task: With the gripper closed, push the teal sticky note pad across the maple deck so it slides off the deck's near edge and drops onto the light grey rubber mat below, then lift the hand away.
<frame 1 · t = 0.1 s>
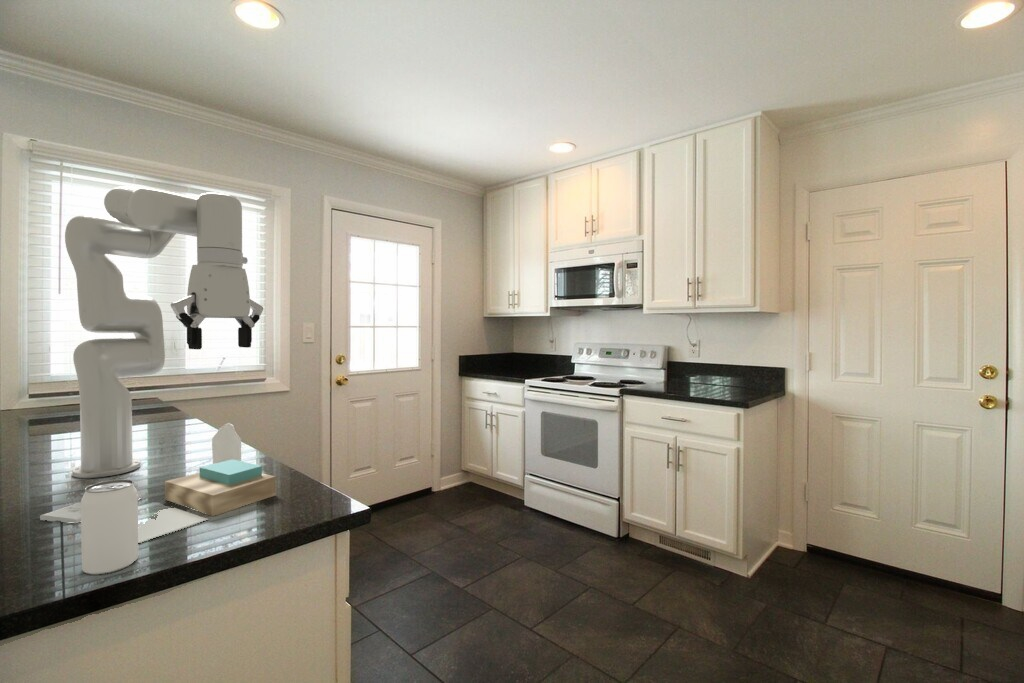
hand: (220, 348, 95), 31 cm above the counter, tool pointing down, fingers open, 9 cm apart
deck: (221, 498, 100), on the counter
can: (110, 566, 72), on the counter
teal sticky note pad: (230, 476, 102), point 4 cm above the counter, touching deck
external hard drive: (93, 513, 93), on the counter
roll: (227, 474, 116), on the counter
mat: (147, 521, 88), on the counter
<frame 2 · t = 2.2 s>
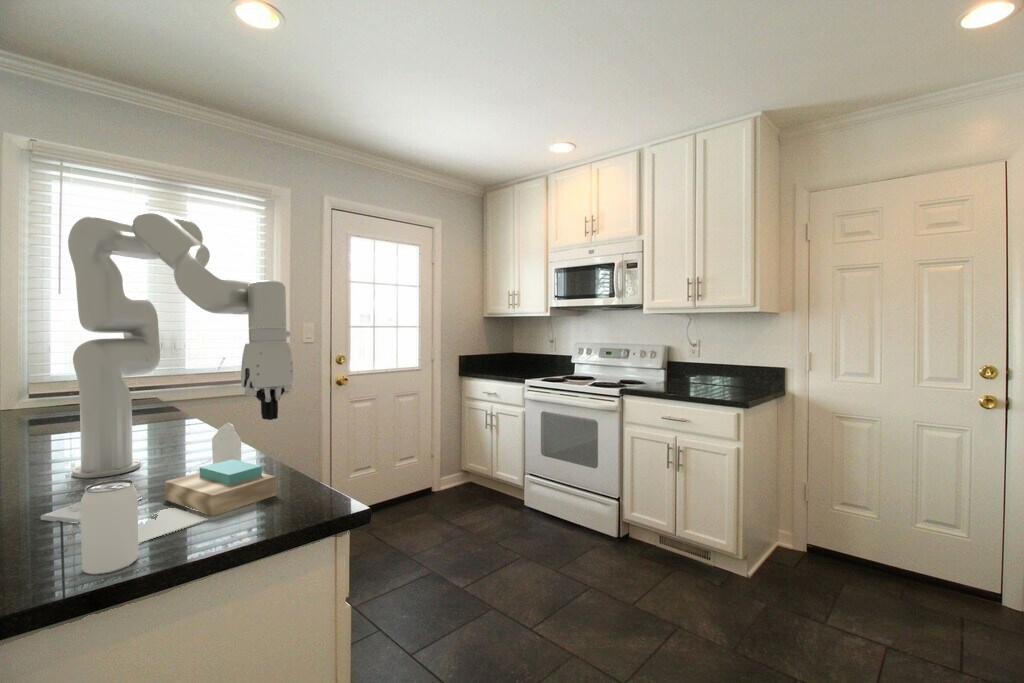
hand: (269, 418, 109), 15 cm above the counter, tool pointing down, fingers closed
nothing on the counter moved.
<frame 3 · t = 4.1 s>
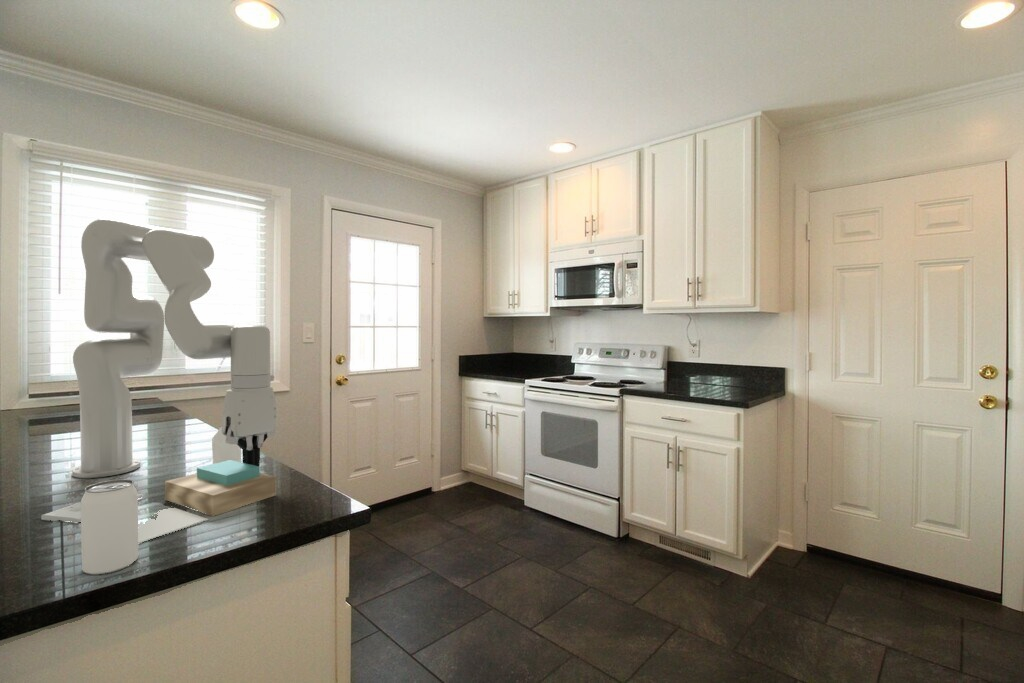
hand: (251, 466, 106), 5 cm above the counter, tool pointing down, fingers closed
teal sticky note pad: (228, 476, 101), point 4 cm above the counter, touching gripper
everything else where it was.
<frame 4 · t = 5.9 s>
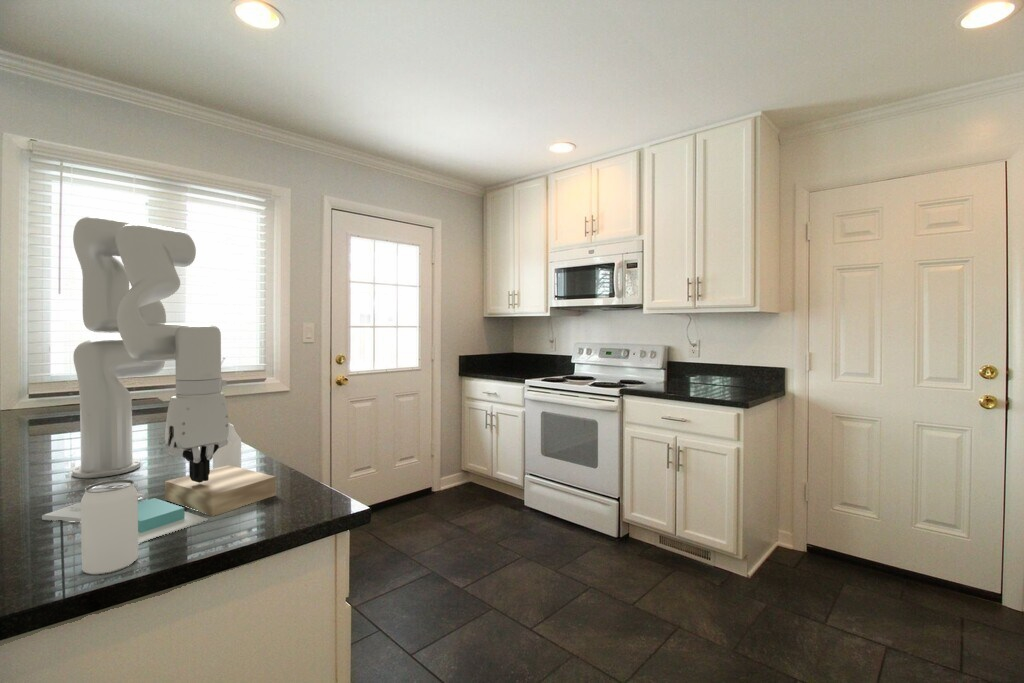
hand: (199, 480, 96), 5 cm above the counter, tool pointing down, fingers closed
teal sticky note pad: (147, 508, 88), point 2 cm above the counter, tilted 180°, touching mat
everything else where it was.
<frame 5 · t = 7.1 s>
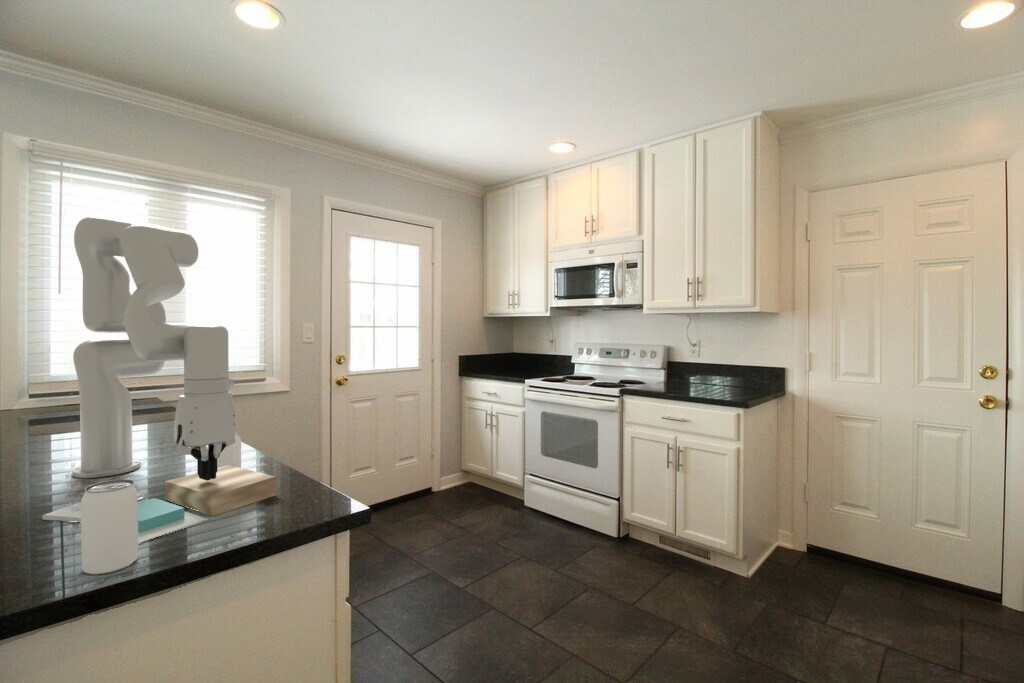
hand: (207, 478, 97), 5 cm above the counter, tool pointing down, fingers closed
nothing on the counter moved.
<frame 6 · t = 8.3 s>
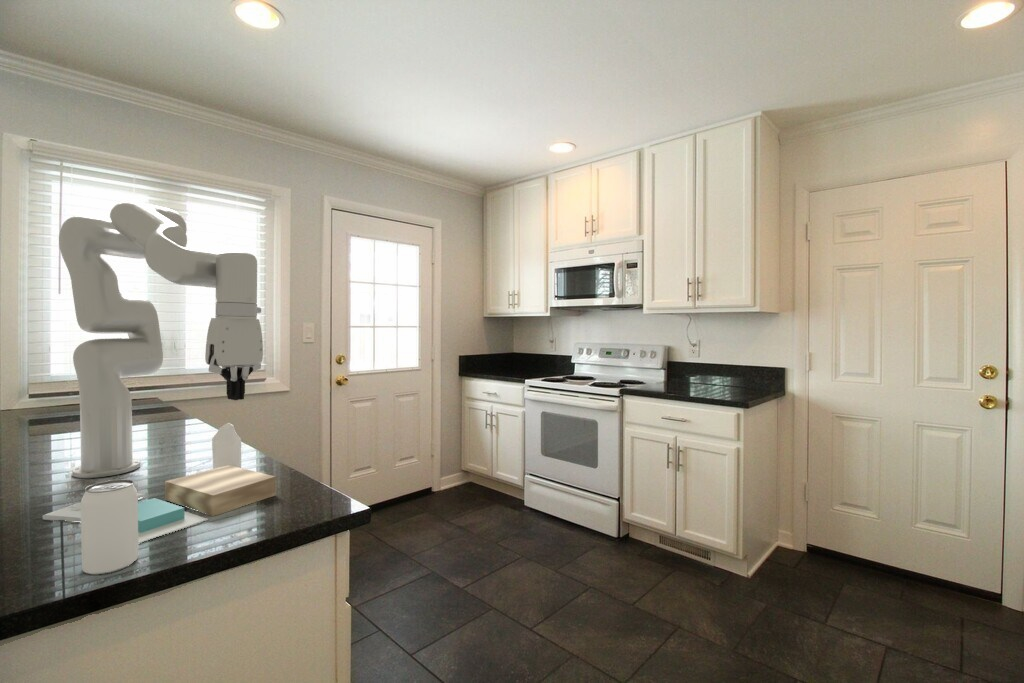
hand: (235, 399, 103), 20 cm above the counter, tool pointing down, fingers closed
nothing on the counter moved.
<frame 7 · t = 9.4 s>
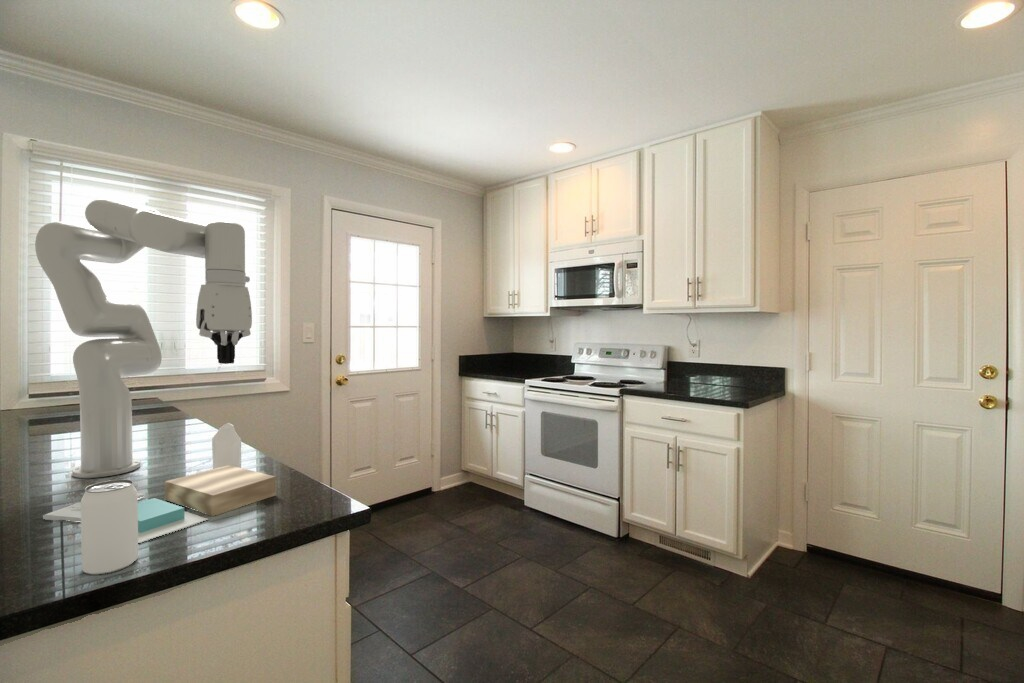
hand: (226, 363, 107), 27 cm above the counter, tool pointing down, fingers closed
nothing on the counter moved.
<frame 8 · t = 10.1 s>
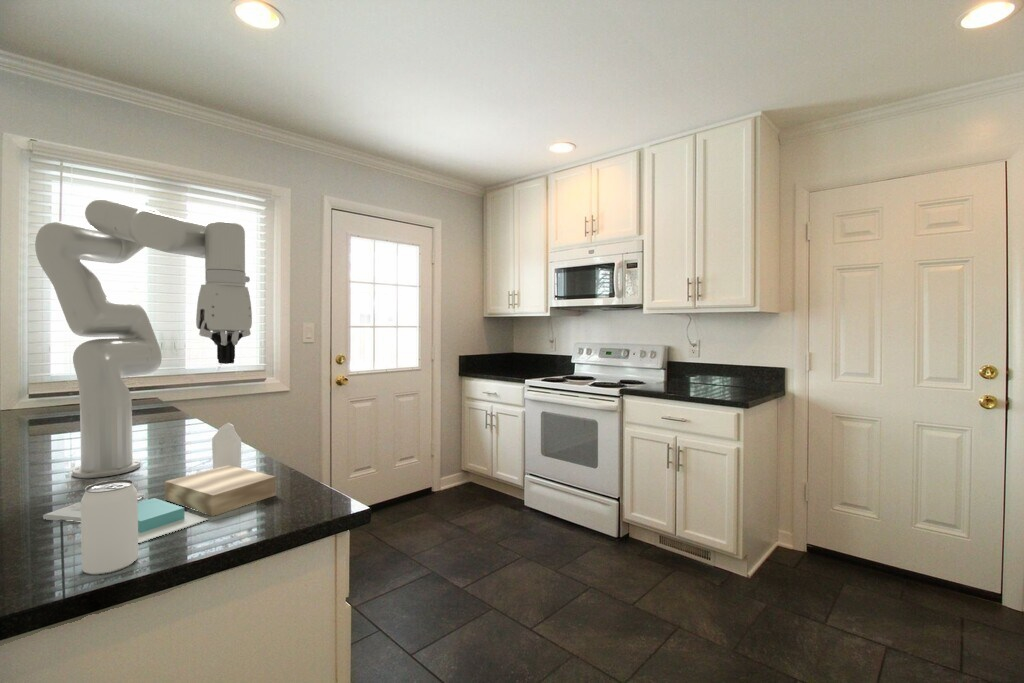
hand: (226, 363, 107), 27 cm above the counter, tool pointing down, fingers closed
nothing on the counter moved.
at the end: teal sticky note pad point 2.3 cm above the counter; teal sticky note pad inside the target area on the mat (0.2 cm from its centre), point 2.3 cm above the mat's base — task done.
